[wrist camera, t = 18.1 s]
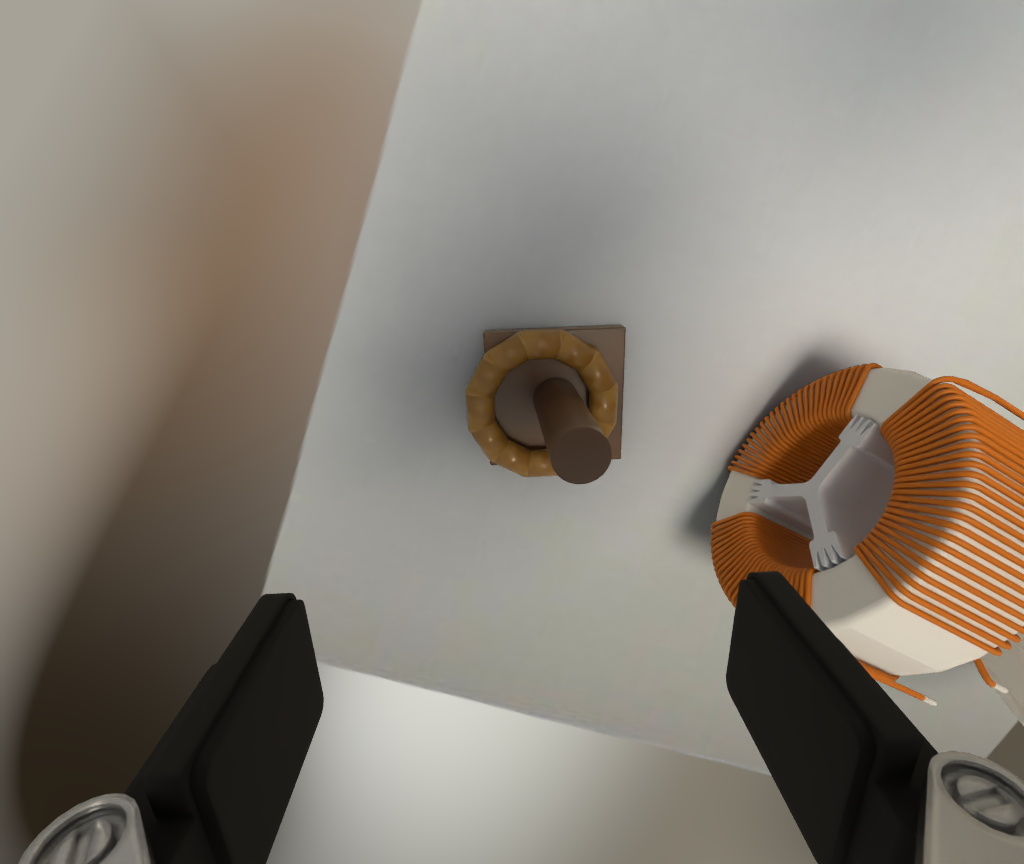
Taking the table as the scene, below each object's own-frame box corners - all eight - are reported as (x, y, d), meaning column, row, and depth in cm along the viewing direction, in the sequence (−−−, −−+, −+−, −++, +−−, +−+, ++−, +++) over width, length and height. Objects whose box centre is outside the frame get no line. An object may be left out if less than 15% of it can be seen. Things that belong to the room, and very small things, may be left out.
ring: (462, 330, 29) (461, 335, 27) (616, 325, 29) (623, 329, 27) (471, 472, 31) (470, 483, 30) (611, 466, 32) (617, 477, 30)
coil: (675, 527, 35) (801, 714, 21) (818, 329, 31) (1095, 395, 17) (756, 567, 36) (925, 769, 22) (903, 383, 32) (1226, 486, 18)
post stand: (483, 330, 30) (480, 366, 20) (620, 324, 30) (682, 358, 20) (490, 458, 32) (490, 544, 23) (616, 452, 33) (669, 535, 23)
